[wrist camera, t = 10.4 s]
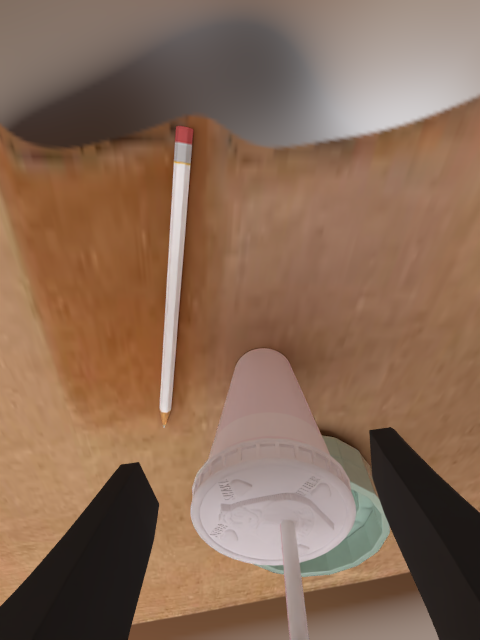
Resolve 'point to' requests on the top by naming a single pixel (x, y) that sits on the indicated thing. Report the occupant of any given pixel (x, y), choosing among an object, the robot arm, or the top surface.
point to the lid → (368, 521)
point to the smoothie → (271, 479)
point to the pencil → (175, 263)
